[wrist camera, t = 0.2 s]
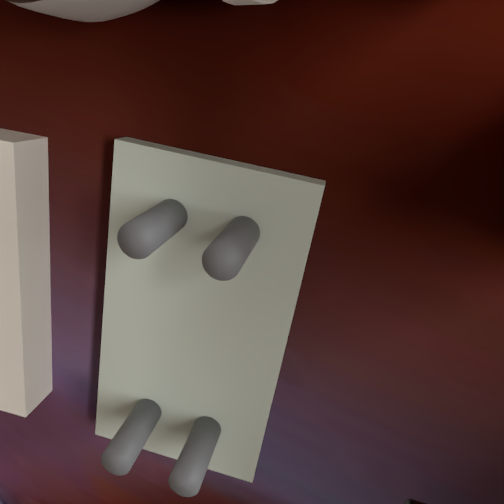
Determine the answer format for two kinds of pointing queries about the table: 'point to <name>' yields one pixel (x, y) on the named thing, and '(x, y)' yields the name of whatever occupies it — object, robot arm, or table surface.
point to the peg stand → (197, 306)
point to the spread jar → (101, 7)
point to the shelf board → (24, 273)
